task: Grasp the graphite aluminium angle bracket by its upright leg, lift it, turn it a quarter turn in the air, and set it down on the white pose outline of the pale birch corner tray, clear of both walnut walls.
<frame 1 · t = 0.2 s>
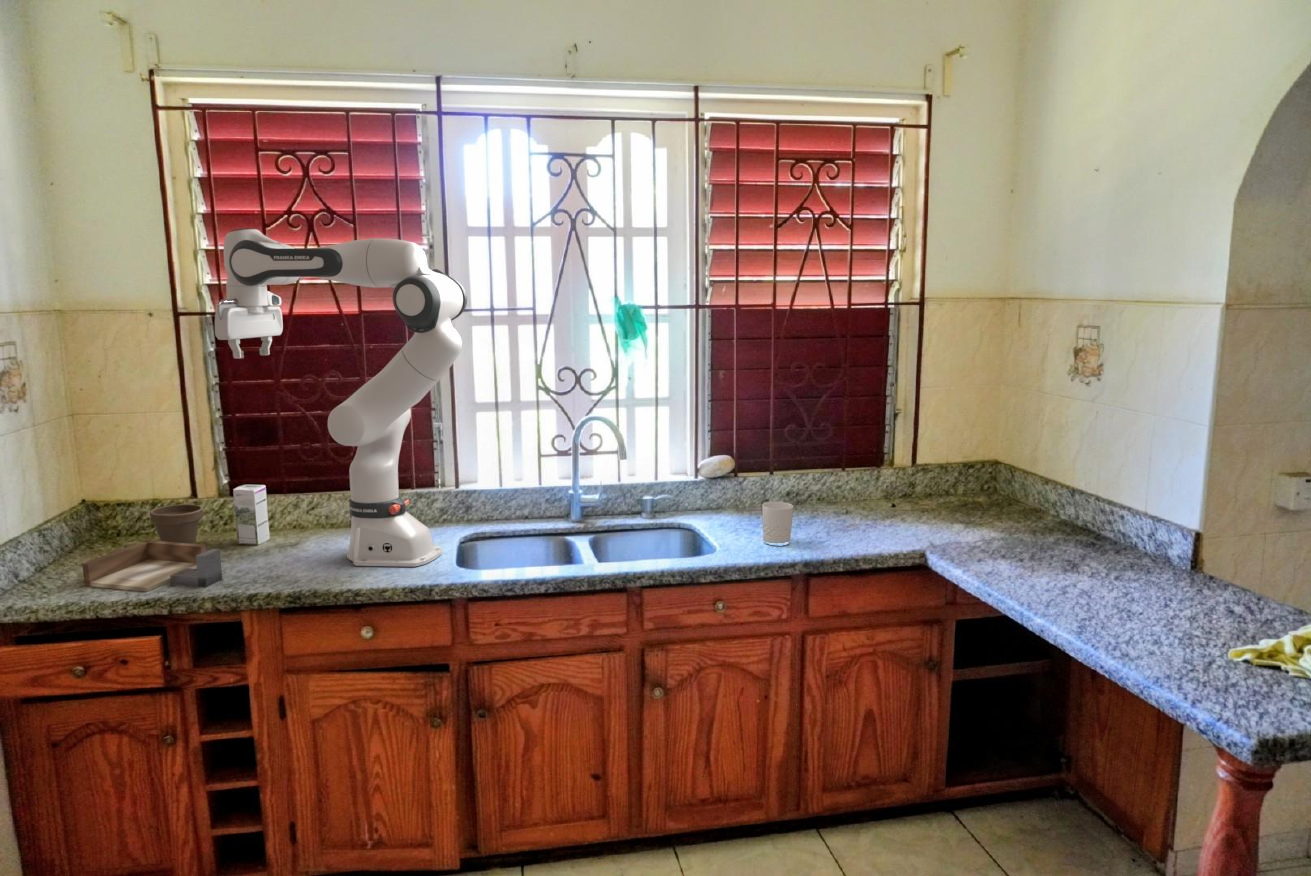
hand: (252, 356, 209), 47 cm above the worktop, fingers open, 8 cm apart
flower pot: (180, 548, 215), on the worktop
white cup: (776, 543, 223), on the worktop
angle bracket: (196, 581, 192), on the worktop
corner arena: (148, 575, 195), on the worktop
syrup box: (253, 542, 221), on the worktop
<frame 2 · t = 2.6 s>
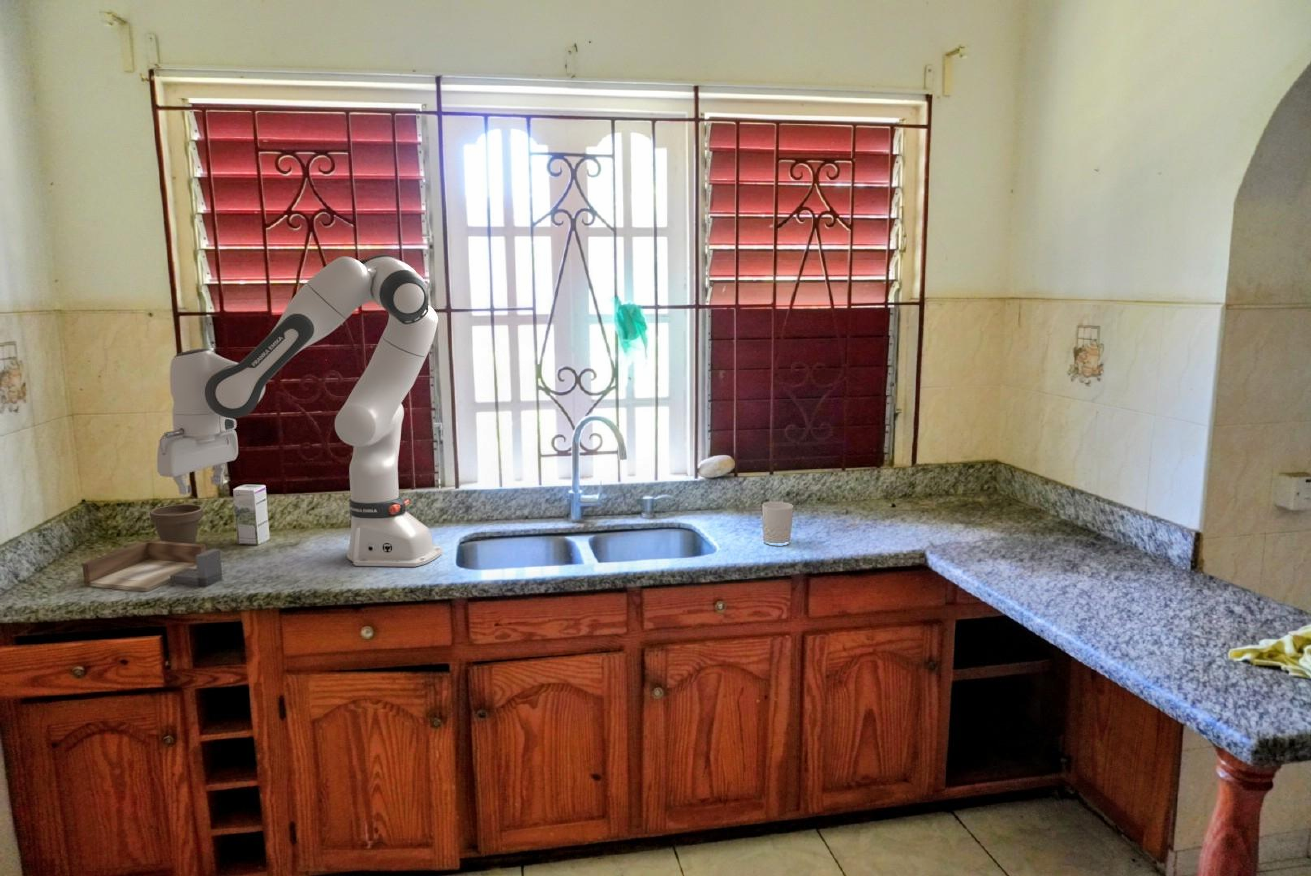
hand: (201, 488, 187), 21 cm above the worktop, fingers open, 8 cm apart
nothing on the worktop moved.
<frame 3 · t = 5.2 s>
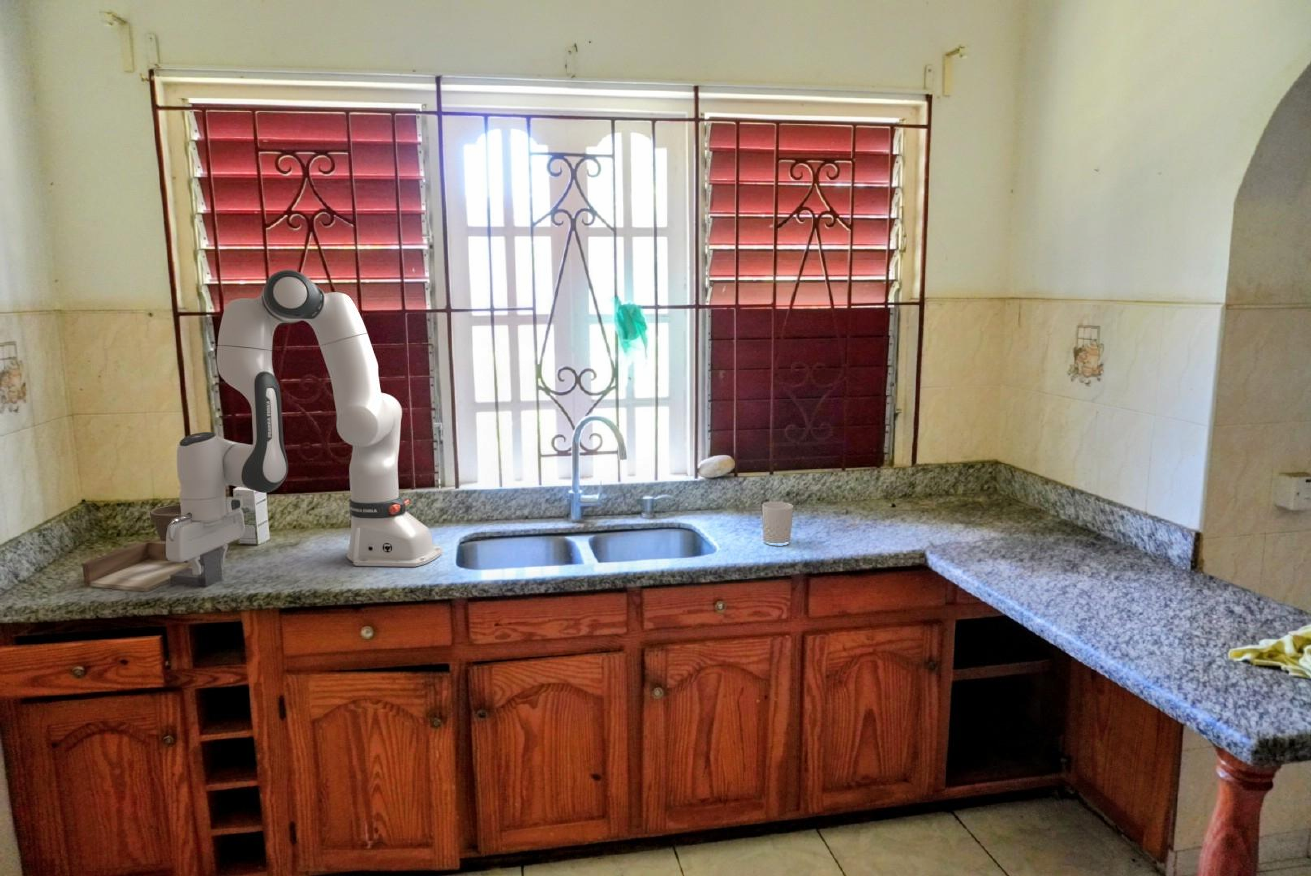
hand: (209, 569, 190), 3 cm above the worktop, fingers closed on angle bracket, 5 cm apart
angle bracket: (196, 581, 192), on the worktop, touching gripper
everything else where it was.
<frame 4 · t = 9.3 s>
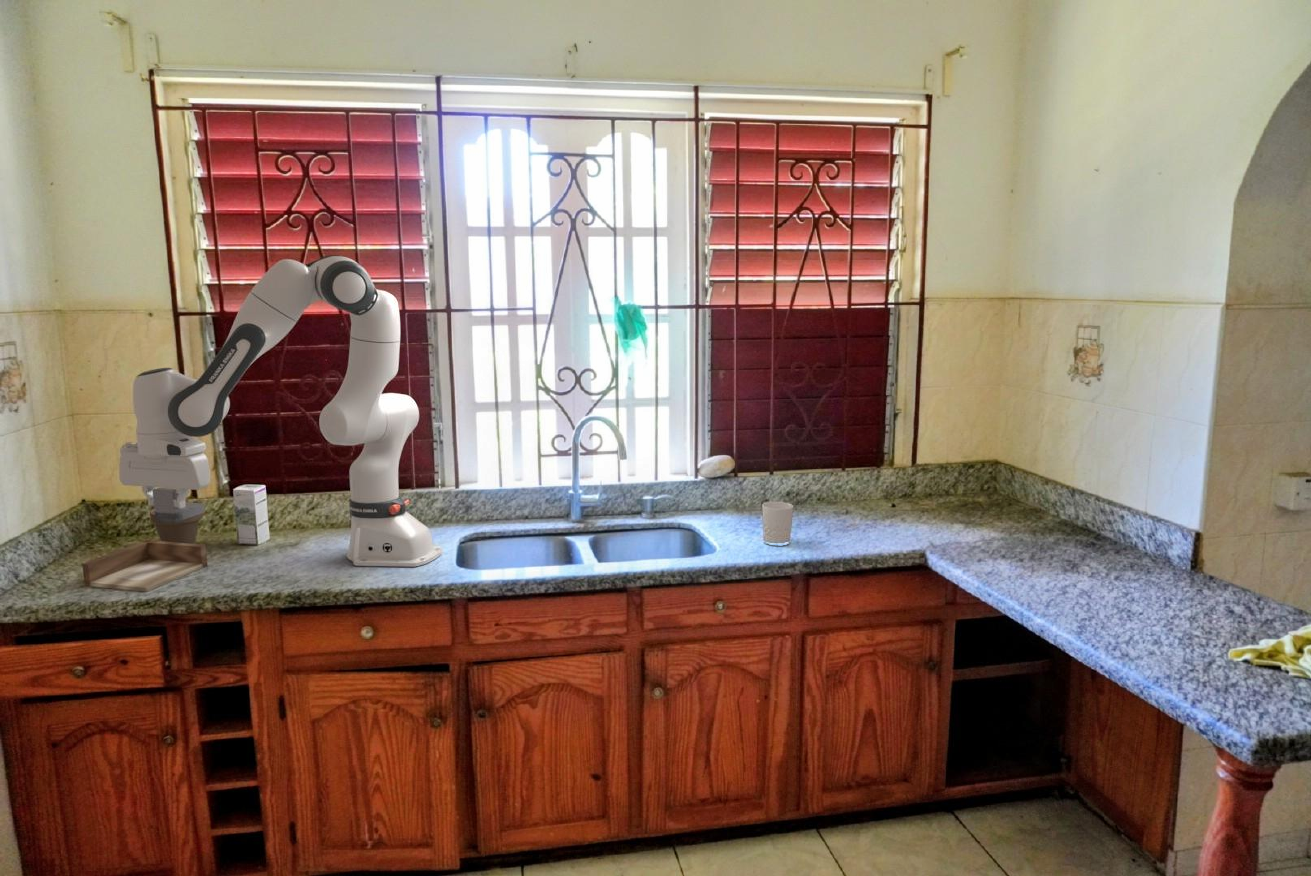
hand: (167, 506, 188), 17 cm above the worktop, fingers closed on angle bracket, 5 cm apart
angle bracket: (180, 516, 192), point 14 cm above the worktop, touching gripper
everything else where it was.
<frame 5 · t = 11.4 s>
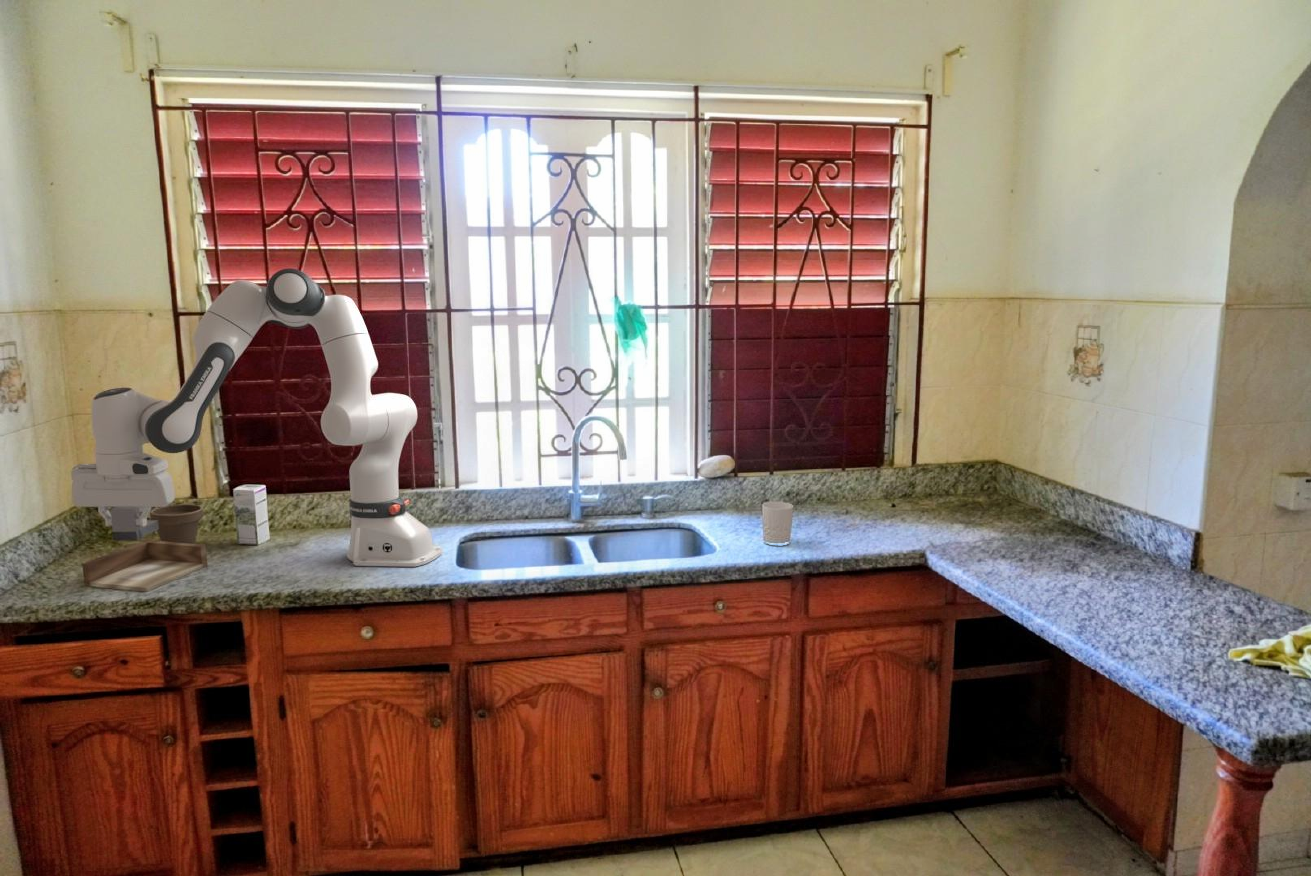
hand: (126, 525, 189), 13 cm above the worktop, fingers closed on angle bracket, 5 cm apart
angle bracket: (136, 534, 193), point 10 cm above the worktop, touching gripper
everything else where it was.
when the fingers open (5 cm above the worktop, at t = 13.5 s): angle bracket stays where it is, resting on corner arena.
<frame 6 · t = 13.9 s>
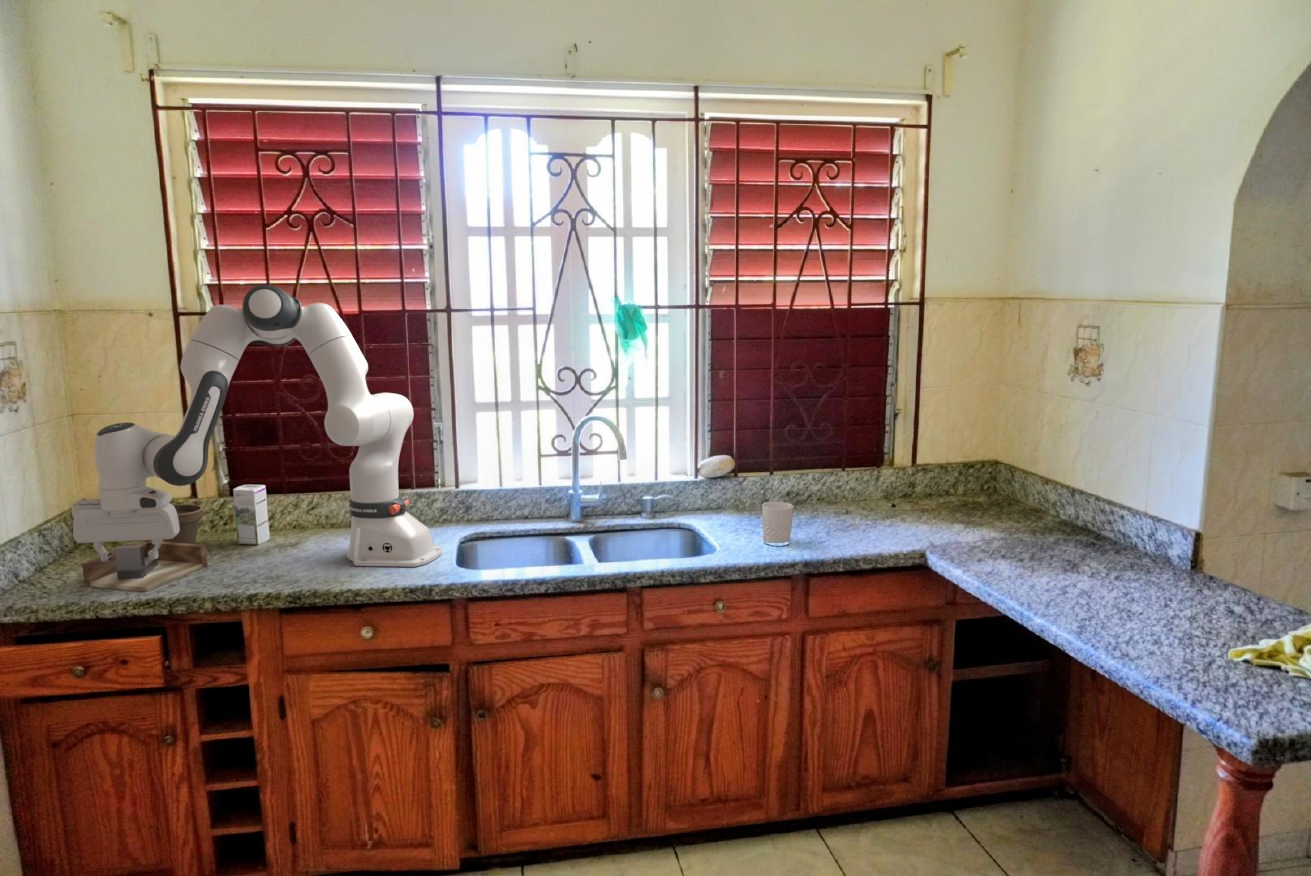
hand: (130, 559, 190), 5 cm above the worktop, fingers open, 8 cm apart
angle bracket: (138, 572, 194), point 1 cm above the worktop, touching corner arena
everything else where it was.
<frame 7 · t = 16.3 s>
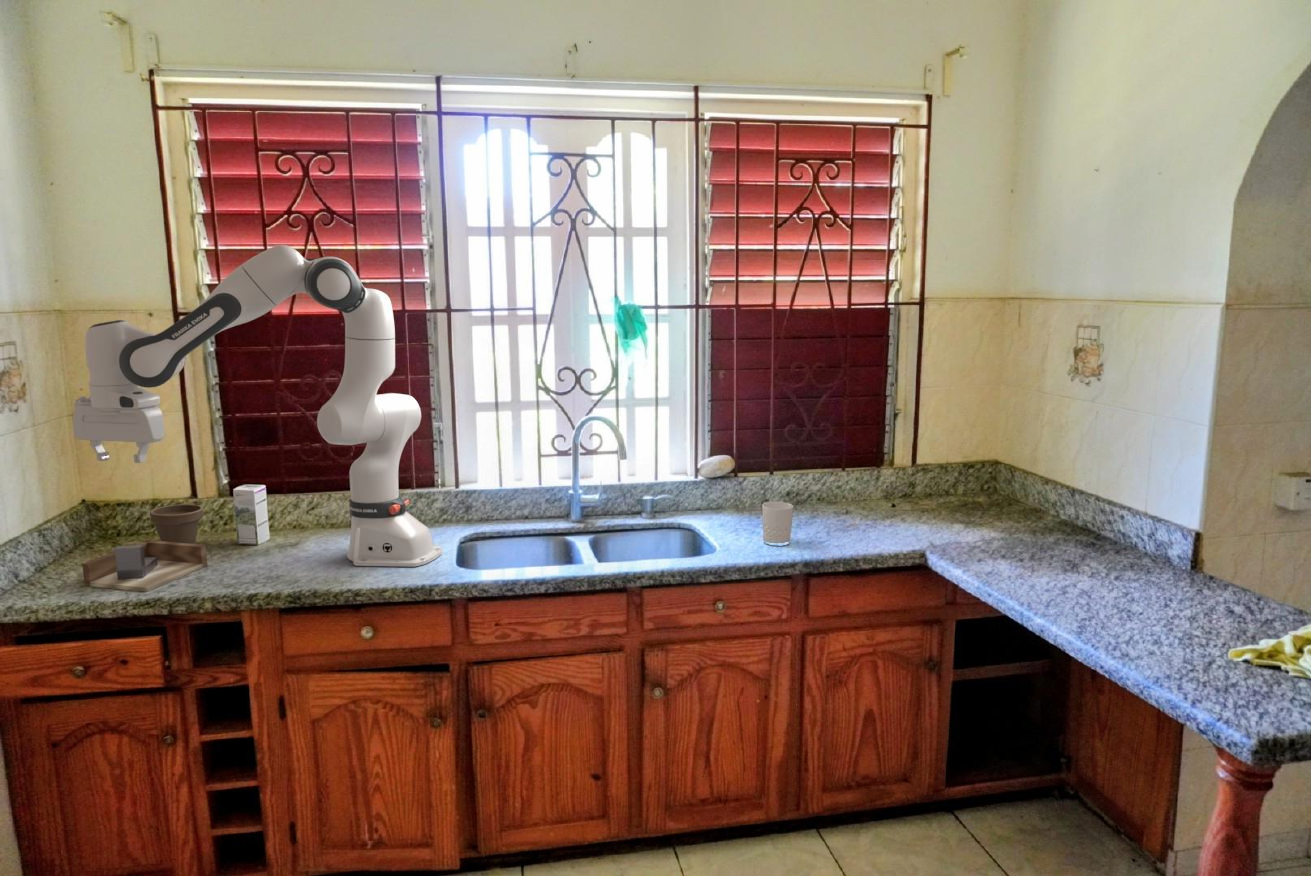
hand: (121, 461, 187), 27 cm above the worktop, fingers open, 8 cm apart
nothing on the worktop moved.
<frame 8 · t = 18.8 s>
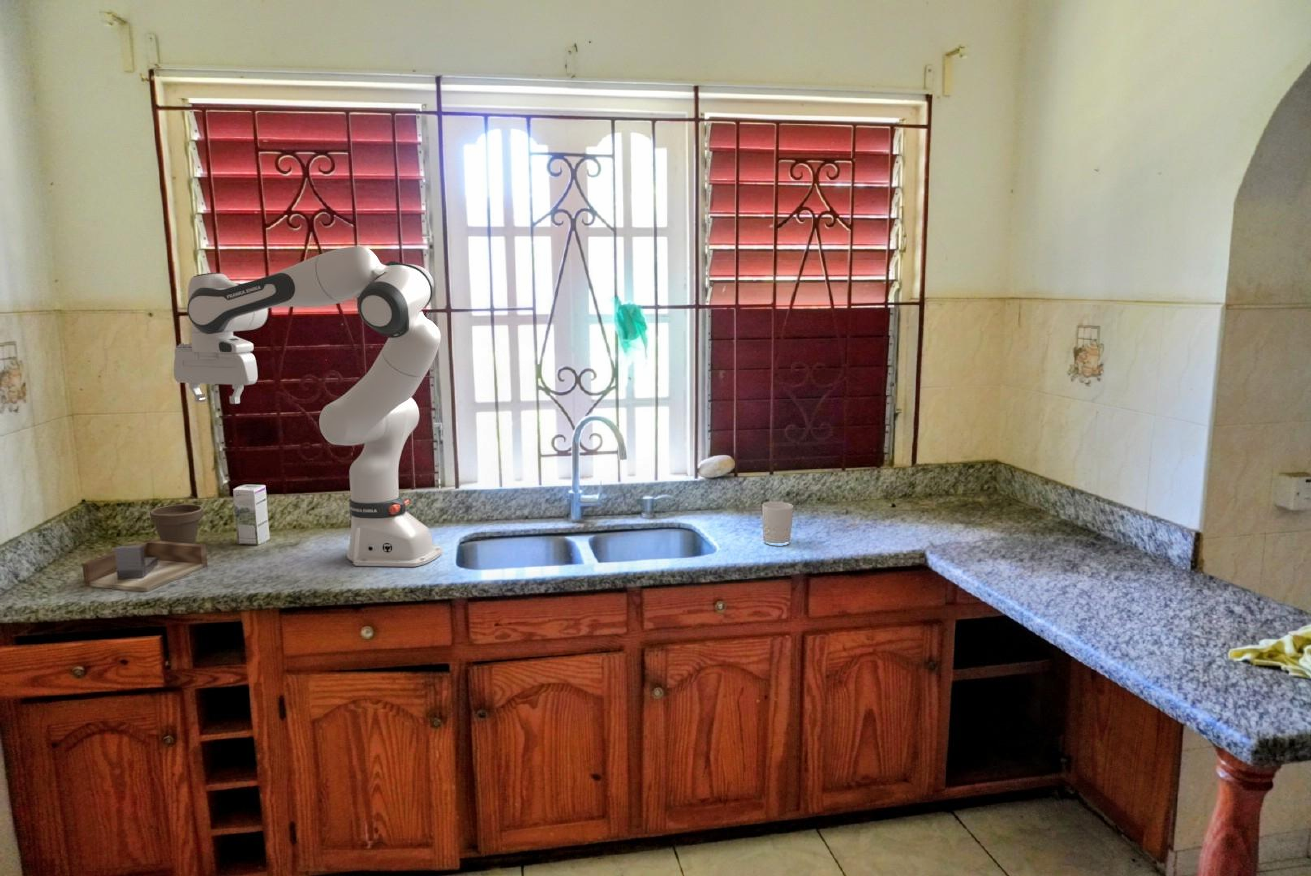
hand: (217, 402, 205), 37 cm above the worktop, fingers open, 8 cm apart
nothing on the worktop moved.
at the end: angle bracket 1.4 cm from the target spot on the corner arena, point 1.0 cm above the corner arena's base; angle bracket tilted 0°; the gripper is holding nothing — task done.
